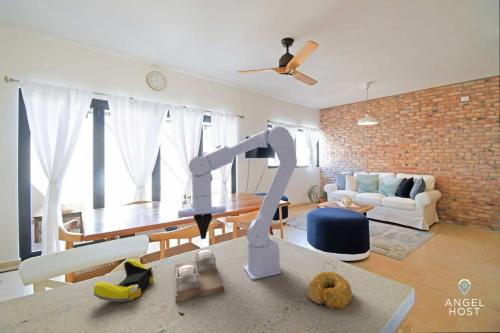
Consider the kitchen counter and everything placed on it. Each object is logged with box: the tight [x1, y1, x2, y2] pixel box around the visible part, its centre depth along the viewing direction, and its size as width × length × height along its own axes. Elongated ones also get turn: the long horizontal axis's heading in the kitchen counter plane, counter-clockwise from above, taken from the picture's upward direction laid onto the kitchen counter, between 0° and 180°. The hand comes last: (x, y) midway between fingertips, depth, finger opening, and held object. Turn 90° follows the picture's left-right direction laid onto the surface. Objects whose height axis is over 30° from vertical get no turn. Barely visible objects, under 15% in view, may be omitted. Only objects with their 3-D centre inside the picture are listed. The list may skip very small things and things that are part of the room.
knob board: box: [174, 249, 225, 303], centre depth 63 cm, size 12×17×5 cm
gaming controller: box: [93, 258, 155, 303], centre depth 59 cm, size 15×6×10 cm
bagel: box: [306, 271, 353, 309], centre depth 55 cm, size 10×11×5 cm
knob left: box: [179, 265, 195, 277], centre depth 59 cm, size 4×4×4 cm
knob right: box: [198, 249, 212, 259], centre depth 68 cm, size 4×4×4 cm
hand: (203, 237), depth 69 cm, fingers closed
